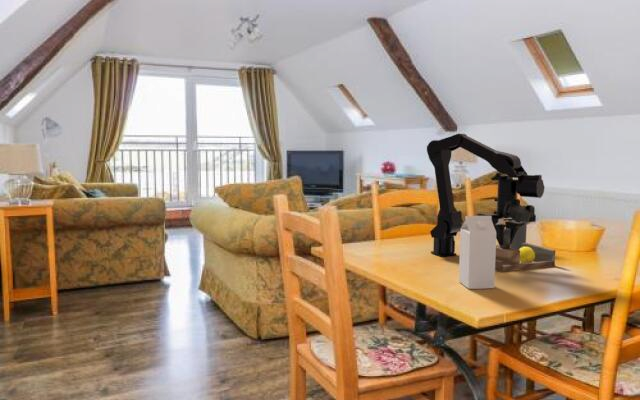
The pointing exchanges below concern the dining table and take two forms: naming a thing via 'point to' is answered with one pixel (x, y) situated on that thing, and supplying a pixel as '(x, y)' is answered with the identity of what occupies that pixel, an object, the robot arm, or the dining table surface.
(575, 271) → the dining table surface
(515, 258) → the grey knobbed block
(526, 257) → the lemon
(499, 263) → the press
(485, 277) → the milk carton
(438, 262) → the dining table surface
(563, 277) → the dining table surface
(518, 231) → the bottle
